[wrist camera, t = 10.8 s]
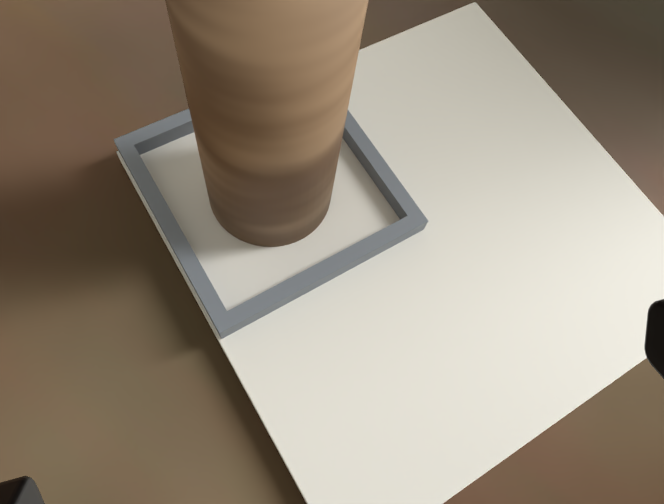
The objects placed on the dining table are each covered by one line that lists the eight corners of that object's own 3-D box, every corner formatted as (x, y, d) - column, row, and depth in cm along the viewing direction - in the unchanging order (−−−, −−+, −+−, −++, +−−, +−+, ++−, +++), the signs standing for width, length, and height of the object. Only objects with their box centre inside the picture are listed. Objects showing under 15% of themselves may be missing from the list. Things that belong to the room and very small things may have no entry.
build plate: (719, 301, 25) (747, 289, 23) (342, 570, 19) (348, 575, 18) (470, 13, 30) (480, -12, 28) (120, 161, 25) (111, 140, 23)
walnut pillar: (355, 189, 24) (423, -69, 13) (274, 271, 22) (273, 53, 11) (267, 119, 25) (262, -175, 14) (182, 193, 23) (100, -78, 12)
